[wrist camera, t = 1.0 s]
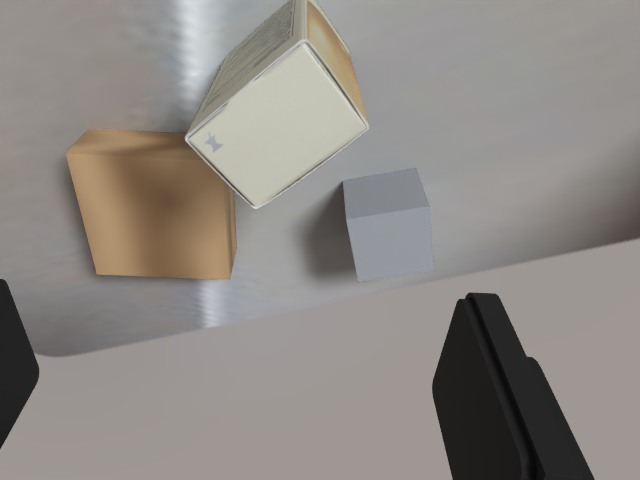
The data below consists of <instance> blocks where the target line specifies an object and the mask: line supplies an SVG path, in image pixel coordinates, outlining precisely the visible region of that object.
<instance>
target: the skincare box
mask: <svg viewBox="0 0 640 480" xmlns="http://www.w3.org/2000/svg"><path fill="white" fill-rule="evenodd" d="M368 129H369V123H368V120H367V116H366V112H365V109H364V105H363V101H362V97H361V94H360V90H359V87H358V83H357V79H356V75H355V72H354V68H353V65H352V61H351V57H350V54H349V51H348V48H347V47H346V46H345V44H344V42H343V41H342V39H341V38H340V36H339V35H338V33H337V32H336V30H335V29H334V27H333V26H332V25H331V23H330V22H329V20H328V19H327V17H326V16H325V14H324V13H323V11H322V10H321V9H320V7H319V6H318V4H317V3H316V2H315V0H290V1H289V2H287V3H286V4H285V5H284V6H283V7H281V8H280V9H279V10H278V11H277V12H276V13H274V14H273V15H272V16H271V17H270V18H269V19H268V20H266V21H265V22H264V23H263V24H262V25H261V26H260V27H259V28H257V29H256V30H255V31H254V32H253V33H252V34H251V35H250V36H248V37H247V38H246V39H245V40H244V41H243V42H242V43H241V44H240V45H239V46H238V47H237V48H236V49H235V50H233V51H232V52H231V53H230V54H229V55H228V56H227V57H226V59H225V61H224V63H223V65H222V66H221V68H220V70H219V72H218V74H217V76H216V78H215V80H214V82H213V84H212V86H211V88H210V90H209V92H208V93H207V95H206V97H205V99H204V101H203V103H202V105H201V107H200V109H199V111H198V112H197V114H196V116H195V118H194V120H193V122H192V124H191V126H190V128H189V130H188V132H187V134H186V135H185V141H186V142H187V143H188V144H189V145H190V146H191V147H192V148H193V149H194V150H195V151H196V152H197V153H198V154H199V156H200V157H201V158H202V159H203V160H204V161H206V163H207V164H208V165H209V166H210V167H211V168H212V169H213V170H214V171H215V172H216V173H217V174H218V175H219V176H220V177H221V178H222V179H223V180H224V181H225V182H226V183H227V184H228V185H229V186H230V187H231V188H232V189H233V190H234V191H235V192H236V193H237V194H238V195H239V196H240V197H242V198H243V199H244V200H245V201H246V202H247V203H248V204H249V205H250V206H251V207H253V208H254V209H258V208H260V207H262V206H263V205H265V204H267V203H268V202H270V201H271V200H273V199H274V198H276V197H278V196H279V195H281V194H282V193H284V192H285V191H286V190H288V189H289V188H291V187H292V186H294V185H295V184H297V183H298V182H299V181H301V180H302V179H303V178H305V177H306V176H308V175H309V174H310V173H312V172H313V171H315V170H316V169H317V168H319V167H320V166H321V165H323V164H324V163H325V162H327V161H328V160H329V159H331V158H332V157H333V156H335V155H336V154H338V153H339V152H340V151H341V150H343V149H344V148H345V147H346V146H348V145H349V144H351V143H352V142H353V141H354V140H356V139H357V138H358V137H359V136H361V135H362V134H363V133H365V132H366V131H367V130H368Z"/></svg>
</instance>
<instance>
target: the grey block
mask: <svg viewBox="0 0 640 480" xmlns="http://www.w3.org/2000/svg"><path fill="white" fill-rule="evenodd" d="M343 189H344V201H345V212H346V222H347V227H348V232H349V237H350V242H351V247H352V252H353V258H354V263H355V268H356V273H357V278H358V282H363V281H370V280H377V279H383V278H390V277H397V276H403V275H410V274H417V273H423V272H430V271H435V270H434V257H433V244H432V232H431V219H430V206H429V203H428V200H427V198H426V195H425V192H424V189H423V186H422V183H421V181H420V178H419V175H418V172H417V169H416V168H413V169H407V170H401V171H395V172H390V173H384V174H378V175H372V176H367V177H361V178H355V179H349V180H344V181H343Z"/></svg>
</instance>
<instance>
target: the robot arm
mask: <svg viewBox="0 0 640 480" xmlns="http://www.w3.org/2000/svg"><path fill="white" fill-rule="evenodd" d="M38 378H39V367H38V363H37V361H36V358H35V356H34V353H33V350H32V348H31V345H30V342H29V340H28V337H27V334H26V332H25V329H24V327H23V324H22V321H21V319H20V316H19V313H18V311H17V308H16V306H15V303H14V300H13V298H12V295H11V292H10V290H9V287H8V285H7V283H6V281H5V280H3V279H0V448H1V447H2V445H3V443H4V442H5V440H6V438H7V436H8V434H9V432H10V431H11V429H12V427H13V425H14V424H15V422H16V420H17V418H18V416H19V414H20V413H21V411H22V409H23V407H24V405H25V404H26V402H27V400H28V398H29V397H30V395H31V393H32V391H33V389H34V388H35V386H36V383H37V381H38ZM432 391H433V398H434V403H435V407H436V411H437V416H438V420H439V424H440V428H441V432H442V436H443V441H444V445H445V449H446V453H447V457H448V461H449V465H450V470H451V474H452V478H453V480H594V477H593V475H592V473H591V471H590V469H589V467H588V465H587V463H586V461H585V458H584V457H583V454H582V452H581V450H580V448H579V446H578V444H577V442H576V440H575V438H574V436H573V433H572V431H571V429H570V427H569V425H568V423H567V421H566V419H565V417H564V415H563V413H562V411H561V409H560V406H559V404H558V402H557V400H556V398H555V396H554V394H553V392H552V390H551V388H550V386H549V383H548V381H547V380H546V377H545V375H544V373H543V371H542V369H541V367H540V366H539V364H538V362H537V361H536V360H535V359H534V358H532V357H527V356H526V354H525V352H524V350H523V348H522V345H521V343H520V341H519V339H518V337H517V335H516V332H515V330H514V328H513V326H512V324H511V322H510V320H509V317H508V315H507V313H506V311H505V309H504V306H503V305H502V302H501V300H500V298H499V296H498V295H497V294H490V293H468V294H467V295H466V298H465V299H459V300H458V301H457V304H456V307H455V311H454V313H453V317H452V320H451V324H450V327H449V330H448V333H447V336H446V340H445V343H444V347H443V349H442V353H441V356H440V359H439V363H438V366H437V369H436V373H435V376H434V379H433V385H432Z"/></svg>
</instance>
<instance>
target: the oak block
mask: <svg viewBox="0 0 640 480" xmlns="http://www.w3.org/2000/svg"><path fill="white" fill-rule="evenodd" d="M186 134H187V133H169V132H148V131H128V130H108V129H88V131H87V132H86V133H85V134H84V135H83V136H82V137H81V138H80V139H79V140H78V141H77V142H76V143H75V144H74V145H73V146H72V147H71V148H70V149H69V150H68V151H67V153H66V157H67V161H68V165H69V169H70V173H71V177H72V180H73V184H74V188H75V192H76V196H77V200H78V203H79V207H80V211H81V215H82V219H83V223H84V227H85V230H86V234H87V238H88V242H89V246H90V250H91V253H92V257H93V261H94V265H95V269H96V273H97V275H121V276H146V277H171V278H197V279H222V280H230V276H231V272H232V267H233V263H234V258H235V254H236V249H237V243H236V223H235V203H234V190H233V189H232V188H231V187H230V186H229V185H228V184H227V183H226V182H225V181H224V180H223V179H222V178H221V177H220V176H219V175H218V174H217V173H216V172H215V171H214V170H213V169H212V168H211V167H210V166H209V165H208V164H207V163H206V161H204V160H203V159H202V158H201V157H200V156H199V154H198V153H197V152H196V151H195V150H194V149H193V148H192V147H191V146H190V145H189V144H188V143H187V142H186V141H185V135H186Z"/></svg>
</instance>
